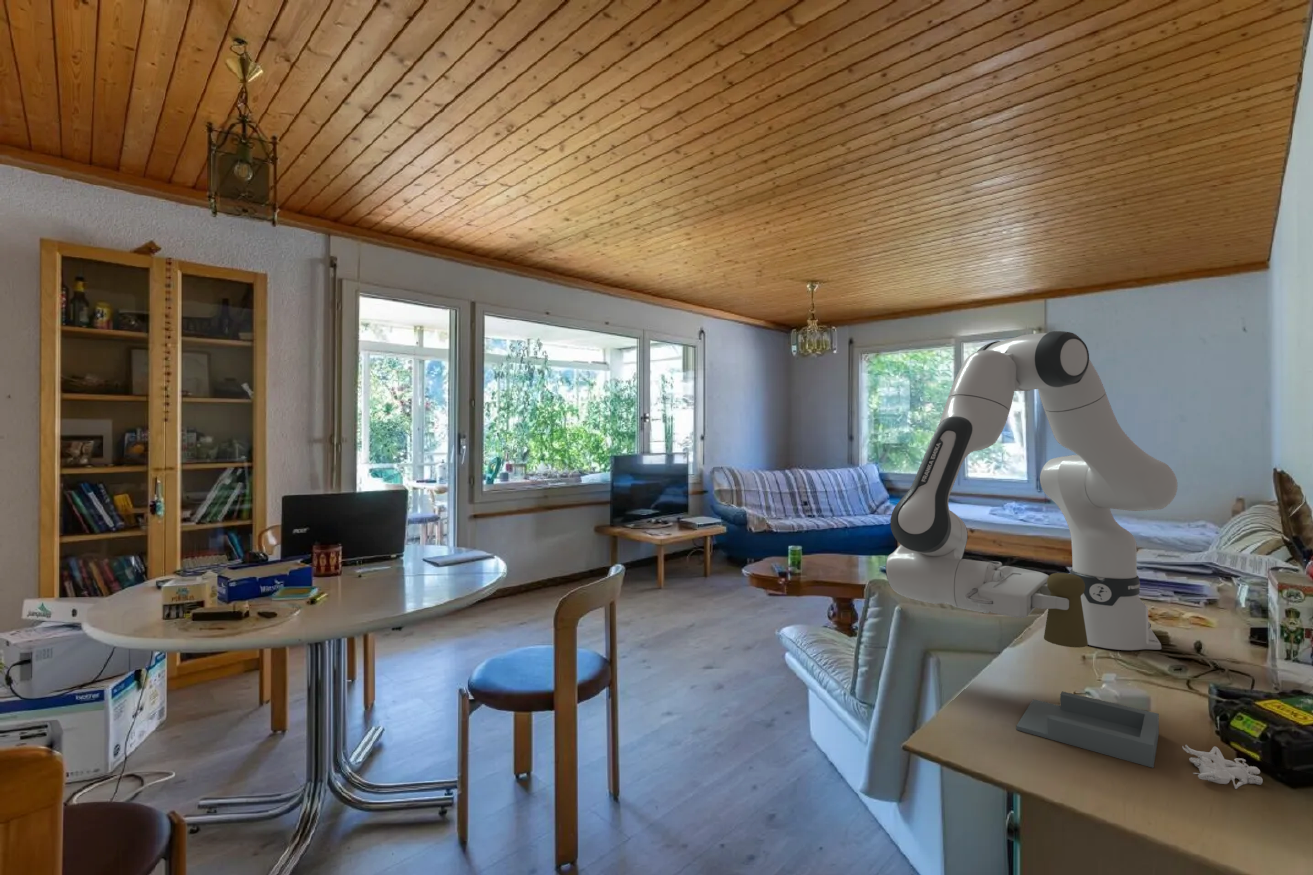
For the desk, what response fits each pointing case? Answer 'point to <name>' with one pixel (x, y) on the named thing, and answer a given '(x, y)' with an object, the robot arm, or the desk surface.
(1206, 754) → the figurine
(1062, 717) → the tray
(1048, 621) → the cork
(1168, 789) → the desk surface
